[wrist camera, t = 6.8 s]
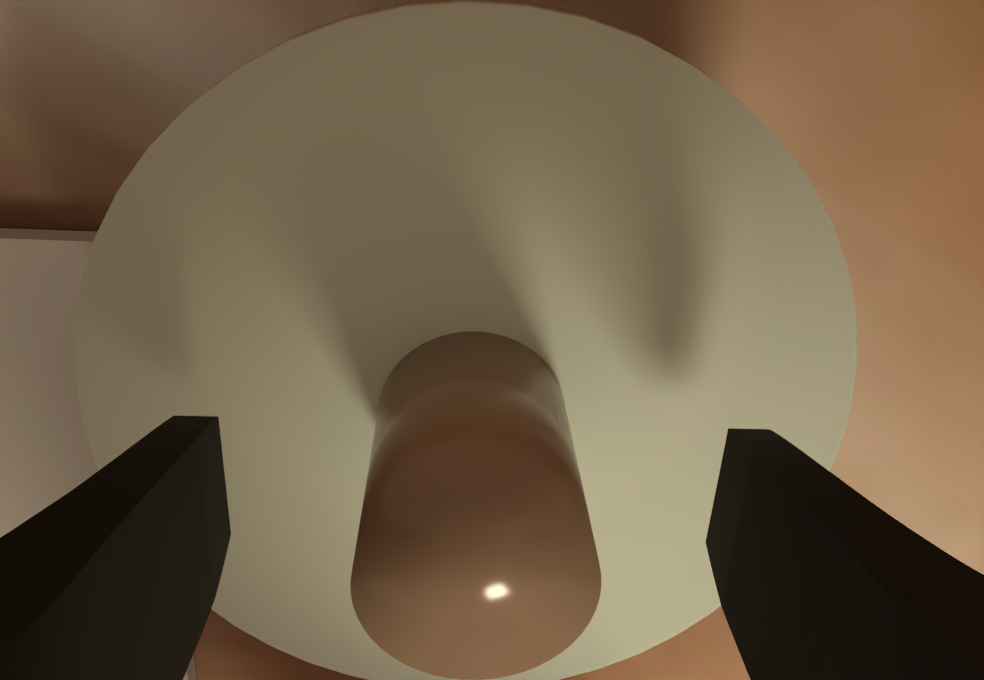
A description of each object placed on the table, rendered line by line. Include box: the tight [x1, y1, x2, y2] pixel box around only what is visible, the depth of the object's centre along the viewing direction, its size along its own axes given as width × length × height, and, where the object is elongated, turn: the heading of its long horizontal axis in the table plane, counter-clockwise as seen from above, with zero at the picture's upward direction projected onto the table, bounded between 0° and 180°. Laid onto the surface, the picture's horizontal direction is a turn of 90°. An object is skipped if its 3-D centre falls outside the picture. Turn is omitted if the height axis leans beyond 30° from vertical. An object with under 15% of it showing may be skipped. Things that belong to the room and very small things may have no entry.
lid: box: [74, 0, 857, 680], centre depth 12 cm, size 12×12×5 cm
